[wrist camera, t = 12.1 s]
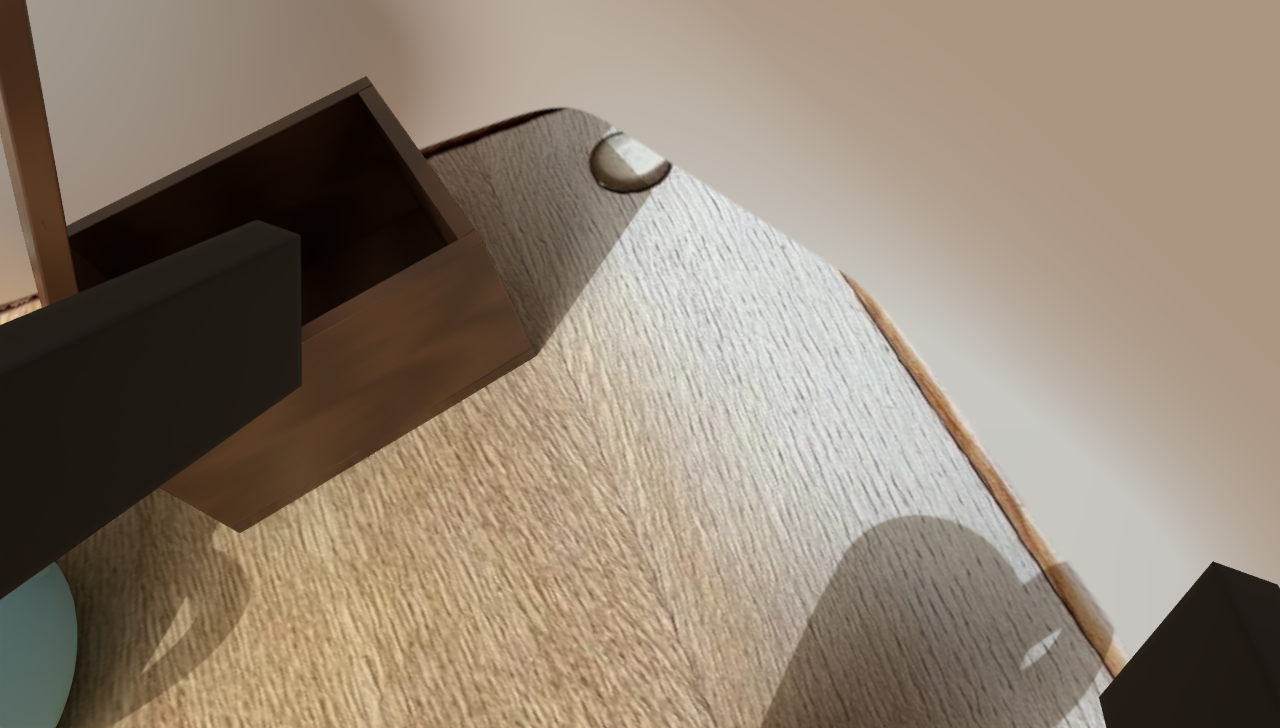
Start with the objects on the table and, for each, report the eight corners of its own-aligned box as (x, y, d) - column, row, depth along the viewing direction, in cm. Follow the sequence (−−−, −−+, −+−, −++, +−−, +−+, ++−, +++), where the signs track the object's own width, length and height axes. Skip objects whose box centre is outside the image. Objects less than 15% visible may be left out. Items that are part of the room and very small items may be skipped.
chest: (431, 202, 45) (366, 75, 37) (536, 356, 38) (484, 241, 31) (170, 343, 42) (42, 237, 34) (239, 533, 36) (101, 455, 28)
